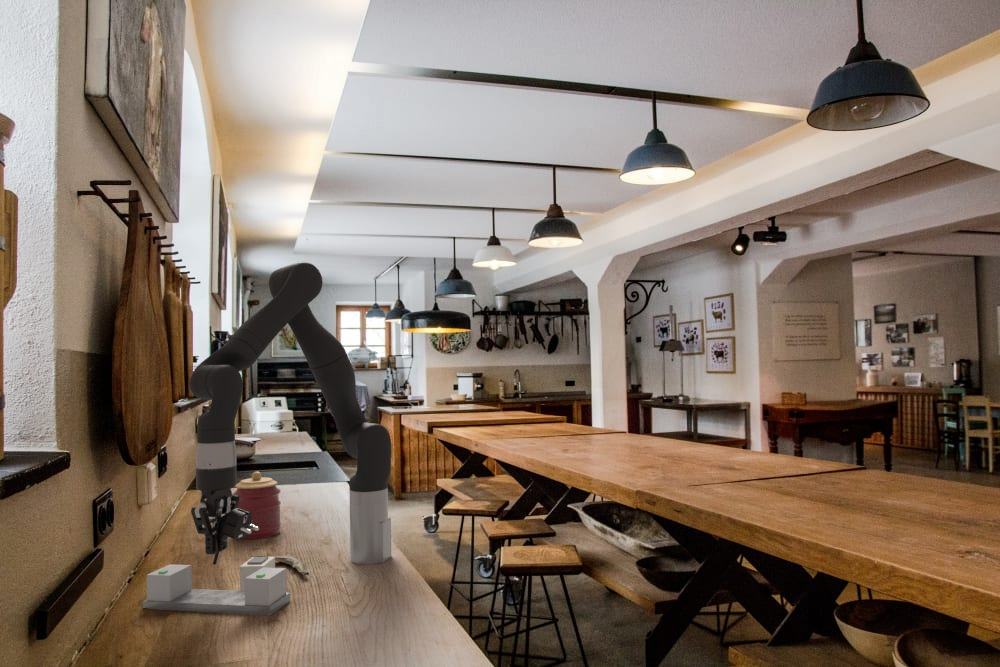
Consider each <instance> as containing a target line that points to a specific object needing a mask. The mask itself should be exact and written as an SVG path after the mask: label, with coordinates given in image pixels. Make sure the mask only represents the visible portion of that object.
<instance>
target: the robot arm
mask: <svg viewBox="0 0 1000 667" xmlns="http://www.w3.org/2000/svg"><path fill="white" fill-rule="evenodd" d="M268 288H269V292H270V294H271V297H272V299H271V300H270V301H269V302H268V303H266V304H265V305H264V306H262V307H261V308H260V309H259V310H258V311H256V312H255V313H254V314H253V315H252V316H250V317H249V318H247V320H245V321H244V322H243V323H242V324H241V325H240V326H239V327H238V328H237V329H236V331H235V332H234V333H233V334H232V335H231V337H230V338H229V339H228V340H227V341H226V342H225V344H224V345H223V346H221V347H220V348H219V349H217V350H215V351H214V352H213V353H212V354H211V355H209V356H208V357H207V358H206V359H204V360H203V361H202V362H200V363H199V364H198V365H197V366H196V367H195V369H194V370H193V372H192V374H191V375H190V378H189V386H188V387H189V389H190V391H191V393H192V395H193V396H194V397H195V398H197V399H199V400H200V399H201V400H209V401H211V403H210V407H209V410H208V411H206V412H204V413H201V414H200V415H199V416H198V418H197V423H196V424H197V425H196V426H197V428H196V429H197V430H196V432H197V434H196V437H197V438H196V440H197V443H196V444H197V445H196V452H195V488H196V490H198V491H200V492H201V496H200V499H199V503H200V504H198V506H196V507H192V508H191V509H190V511H191V512H190V513H191V516H192V519H193V522H194V523H193V524H194V526H195V528H196V531H197V534H200V535H203V536H204V537H205V538H204V539H205V543H204V544H205V546H204V547H205V550H204V551H205V554H206V555H215V554H216V553H217V552H218V535H217V533H218V523H219V522H220V521H221V520H220V517H222V516H224V515H225V514H227V513H228V512H230V511H231V510H234V509H236V508H238V504H239V500H240V497H239V496H235V495H232V494H233V492H232V489H234V488H236V487H235V486H236V484H237V449H236V425H235V424H236V423H235V421H236V417H237V415H238V410H239V406H240V403H241V399H242V394H243V389H244V383H243V377H242V375H241V371H244V370H248V369H249V368H251V367H252V366H253V365H254V364H255V363H256V362H257V360H258V359H259V358H260V356H261V355H262V354H263V352H264V351H265V350H266V349H267V347H268V346H269V345H270V344H271V343H272V341H273V340H274V339H275V338H276V336H277V335H278V334H279V333H280V332H281V331H282V330H283V329H284V328H285V327H286V325H288V326H289V328H290V329H291V332H292V333H293V335H294V337H295V339H296V342H297V344H298V345H299V347H300V349H301V351H302V353H303V355H304V358H305V361H306V362H307V364H308V367H309V369H310V371H311V373H312V375H313V377H314V380H315V383H316V384H317V386H318V387H319V390H320V392H321V394H322V396H323V398H324V401H325V402H326V404H327V407H328V408H329V410H330V413H331V414H332V417H333V420H334V423H335V426H336V428H337V431H338V433H339V436H340V440H341V443H342V445H343V447H344V449H345V452H346V453H347V455H349V456H350V457H351V458H352V459H353V458H354V459H355V460H357V461H356V472H355V474H354V475H353V476H351V477H349V484H348V485H349V489H348V490H349V545H350V548H349V550H350V551H349V555H350V562H351V563H353V564H357V565H371V564H372V565H374V564H384V563H385V562H386V561H388V560H389V559H390V558H391V557H392V519H391V517H389V507H388V506H389V504H388V503H389V501H388V500H389V496H388V492H389V491H388V490H389V489H388V488H389V487H388V484H389V479H390V477H391V471H392V439H391V436H390V433H389V430H388V428H386V427H385V426H384V425H382V424H379V423H372V422H369V421H368V420H367V418H366V416H365V414H364V412H363V410H362V408H361V405H360V404H359V402H358V397H357V389H356V388H357V387H356V386H357V384H356V374H355V371H354V370H355V369H354V368H353V364H352V363H351V360H350V357H349V355H348V353H347V351H346V349H345V348H344V345H343V344H342V343H341V342H340V341H339V339H338V338H336V337H335V335H334V334H332V333H331V332H330V331H329V330H327V328H325V327H324V325H322V324H321V323H320V321H318V319H317V318H316V317H315V315H314V313H313V311H312V309H311V307H310V305H309V304H310V303H311V302H312V301H313V300H315V299H316V298H317V297H318V296H319V294H320V293H321V291H322V289H323V277H322V274H321V271H320V270H319V269H318V268H317V267H316V265H314V264H312V263H310V262H306V261H302V262H294V263H291V264H289V265H285V266H284V267H279V268H277V269H276V270H274V271H272V272H271V274H270V276H269V278H268ZM226 549H228V539H227V540H226V542H225V545H224V547H223V550H226ZM223 550H222V551H223Z"/></svg>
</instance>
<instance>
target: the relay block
mask: <svg viewBox="0 0 1000 667" xmlns="http://www.w3.org/2000/svg"><path fill="white" fill-rule="evenodd" d="M275 557H276V556H270V557H250V558H249V559H248V560H246V562H244V563H243V564H241V565H240V566H239V591H245V578H246V577H248V576H249V575H251V574H253V573H255V572H256V571H258V570H260V569H261V568H263V567H265V568H276V561H275Z"/></svg>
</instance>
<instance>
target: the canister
mask: <svg viewBox="0 0 1000 667" xmlns="http://www.w3.org/2000/svg"><path fill="white" fill-rule="evenodd" d="M277 485H278V481H276V480H274V479H273V478H272V477H268V476H267V477H266V476H265V477H264V476H263V477H262V473H261V472H260V471H254V472H253V473H252V474H251V478H246V479H241V480H240V481H239V482H238V483H236V486H235V487H234V488H236V490H235V491H234V492H232V495H235V496H239V497H240V500H239V504H238V508H239V509H242V510H244V511H247V512H250V513H251V514H252V520H251V521H252V523H251V524H252V525H254V526H257V527H259V530H258V531H256V530H253V529H250V528H249V529H250V530H251V531H252V532H251V533H250V534H248V533H247V534H246V535H245V536H244V537H243V538H242V539H241V540H257V539H258V540H259V539H266V538H270V537H274V536H276V535H278V534H280V532H281V528H282V523H281V502H282V501H281V500H280V496H279V494H280V493H281V489H280V488H278V487H277Z"/></svg>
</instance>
